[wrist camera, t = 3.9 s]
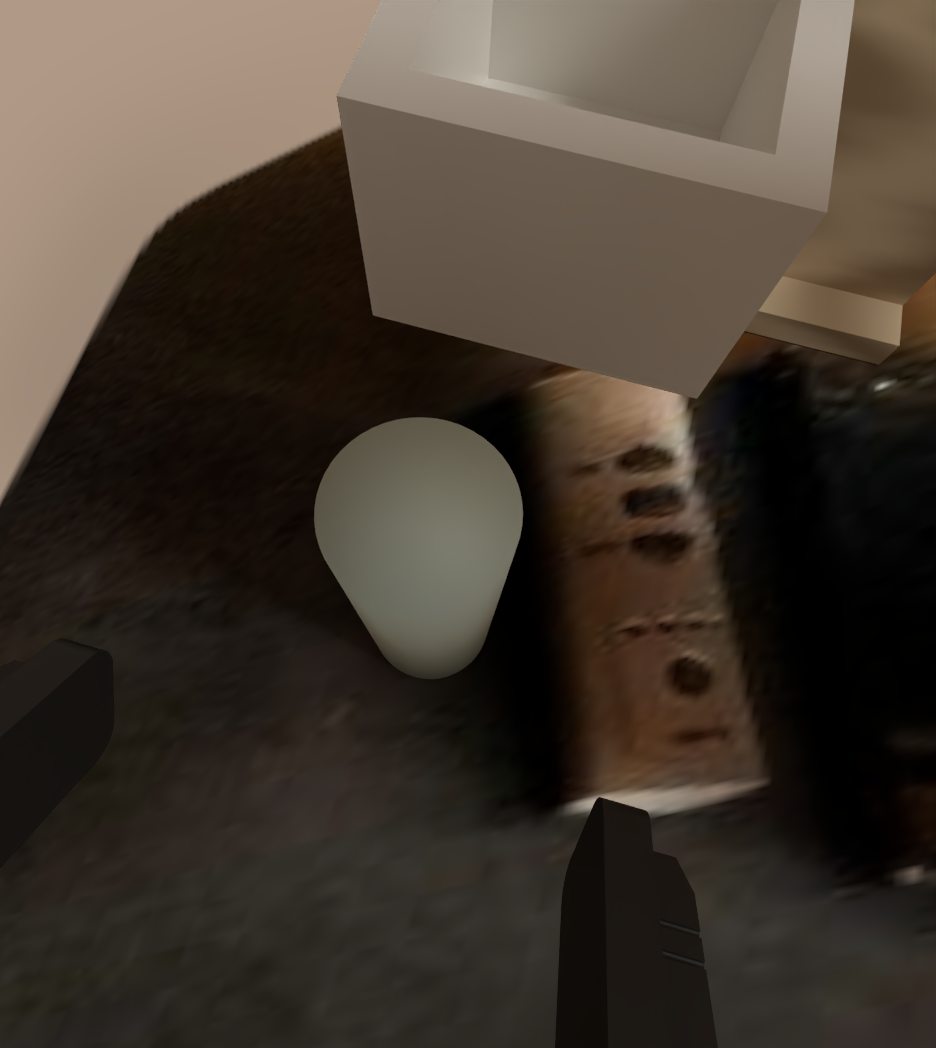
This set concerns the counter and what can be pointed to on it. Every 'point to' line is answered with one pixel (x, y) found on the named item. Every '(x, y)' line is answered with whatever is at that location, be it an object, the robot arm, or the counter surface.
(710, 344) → the grey open box
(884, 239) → the oak board
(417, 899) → the counter surface
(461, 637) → the pale green rounded cylinder
